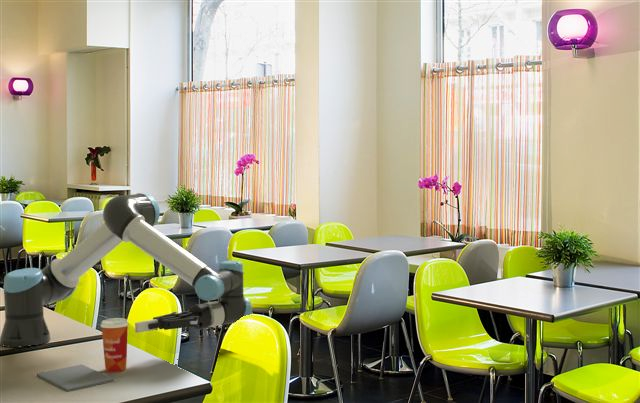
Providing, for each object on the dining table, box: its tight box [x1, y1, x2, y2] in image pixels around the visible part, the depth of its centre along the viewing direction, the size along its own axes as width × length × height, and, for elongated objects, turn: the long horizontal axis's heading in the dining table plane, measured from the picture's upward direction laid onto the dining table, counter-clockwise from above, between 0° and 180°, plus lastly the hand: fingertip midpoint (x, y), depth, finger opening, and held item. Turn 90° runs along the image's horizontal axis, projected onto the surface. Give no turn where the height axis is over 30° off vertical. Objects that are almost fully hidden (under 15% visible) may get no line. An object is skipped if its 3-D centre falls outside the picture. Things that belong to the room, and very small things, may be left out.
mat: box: [36, 364, 116, 392], centre depth 209 cm, size 20×13×1 cm, turn 42°
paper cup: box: [100, 317, 129, 373], centre depth 216 cm, size 8×8×14 cm
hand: (136, 327), depth 220 cm, fingers closed
